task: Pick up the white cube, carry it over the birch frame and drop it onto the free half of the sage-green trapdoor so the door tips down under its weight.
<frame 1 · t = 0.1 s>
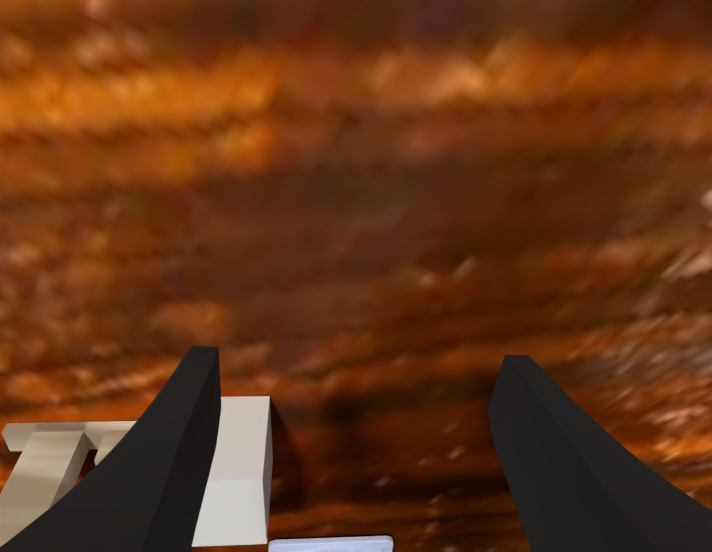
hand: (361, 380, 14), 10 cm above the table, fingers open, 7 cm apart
frame: (92, 503, 32), on the table
white cube: (224, 429, 29), on the table
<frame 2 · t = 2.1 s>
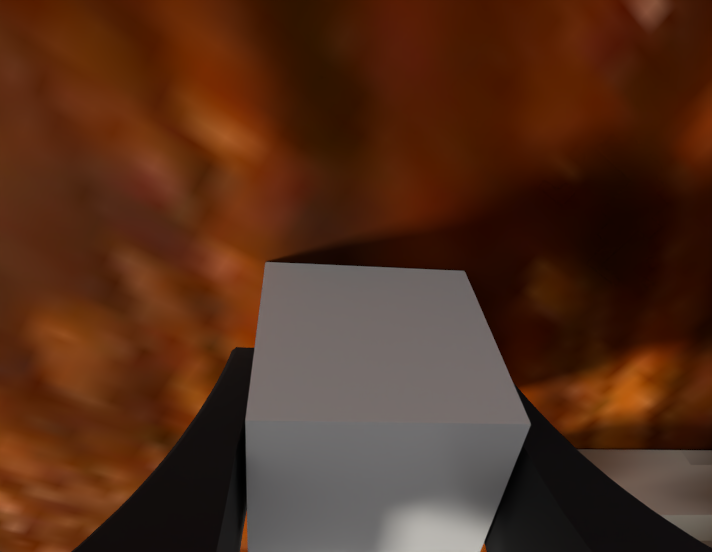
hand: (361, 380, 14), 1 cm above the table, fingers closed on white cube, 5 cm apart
frame: (498, 515, 20), on the table
white cube: (357, 343, 15), on the table, touching gripper
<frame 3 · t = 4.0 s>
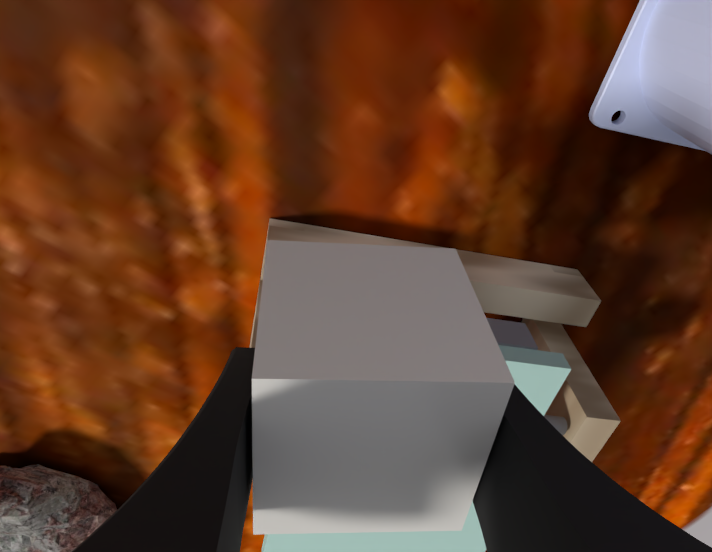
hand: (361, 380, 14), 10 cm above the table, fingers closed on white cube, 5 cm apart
mineral rock: (75, 512, 32), on the table
frame: (408, 313, 25), on the table
white cube: (354, 318, 16), point 7 cm above the table, touching gripper
trapdoor: (404, 456, 23), point 5 cm above the table, hinge at 0.0°
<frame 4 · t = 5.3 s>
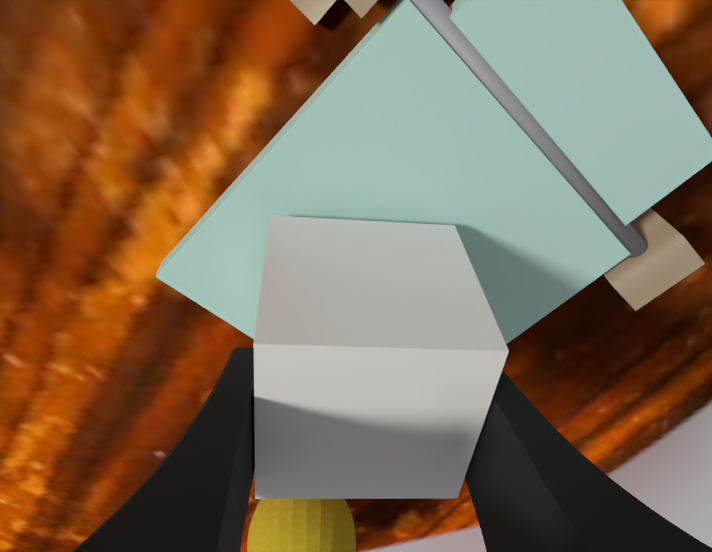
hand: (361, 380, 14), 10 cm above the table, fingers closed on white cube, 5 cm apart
frame: (479, 78, 20), on the table
lemon: (302, 472, 32), on the table
white cube: (355, 294, 16), point 7 cm above the table, touching gripper
trapdoor: (435, 208, 16), point 5 cm above the table, hinge at 0.0°
when the fingers open (10 cm above the table, at t = 5.9 s): white cube drops 4 cm, resting on trapdoor.
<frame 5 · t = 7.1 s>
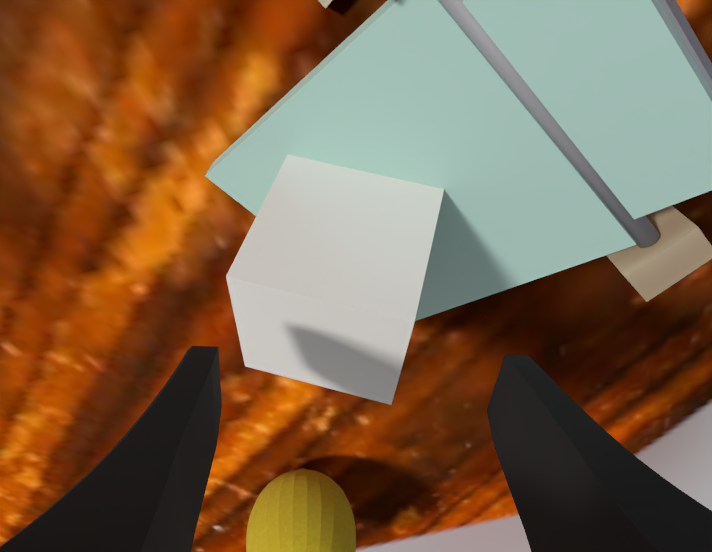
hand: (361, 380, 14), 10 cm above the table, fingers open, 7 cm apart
frame: (490, 66, 19), on the table
lemon: (302, 467, 31), on the table
white cube: (359, 225, 19), point 3 cm above the table, tilted 26°, touching trapdoor
trapdoor: (453, 161, 17), point 4 cm above the table, hinge at -25.9°, touching white cube
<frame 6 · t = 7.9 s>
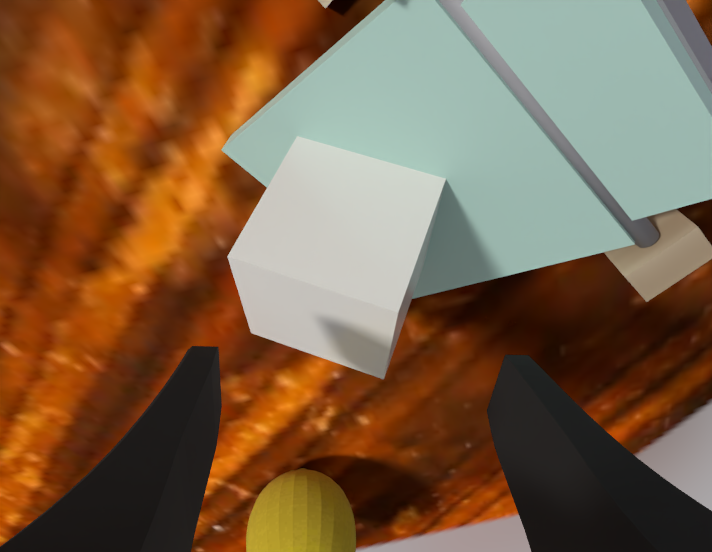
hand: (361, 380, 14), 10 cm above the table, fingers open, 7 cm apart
frame: (490, 66, 19), on the table
lemon: (302, 467, 31), on the table
white cube: (366, 206, 19), point 2 cm above the table, tilted 34°, touching trapdoor
trapdoor: (458, 150, 17), point 4 cm above the table, hinge at -33.8°, touching white cube
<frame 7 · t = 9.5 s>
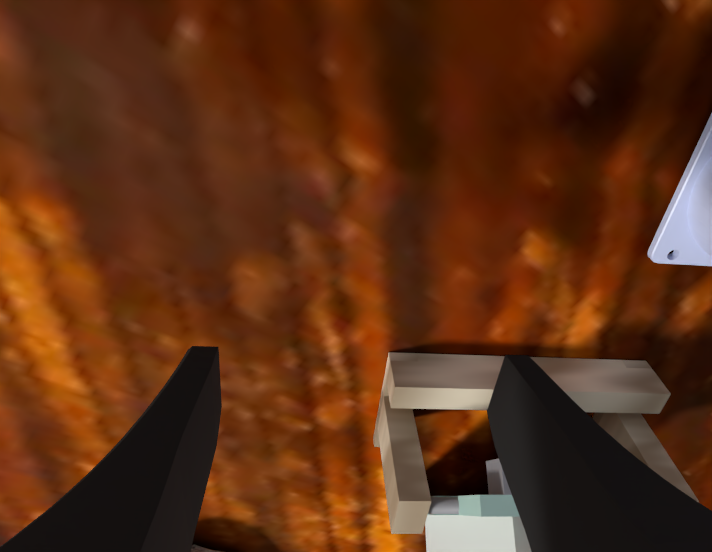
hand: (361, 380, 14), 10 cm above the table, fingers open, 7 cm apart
frame: (502, 407, 30), on the table
white cube: (483, 512, 31), point 2 cm above the table, tilted 34°, touching trapdoor
trapdoor: (510, 490, 28), point 3 cm above the table, hinge at -33.8°, touching white cube
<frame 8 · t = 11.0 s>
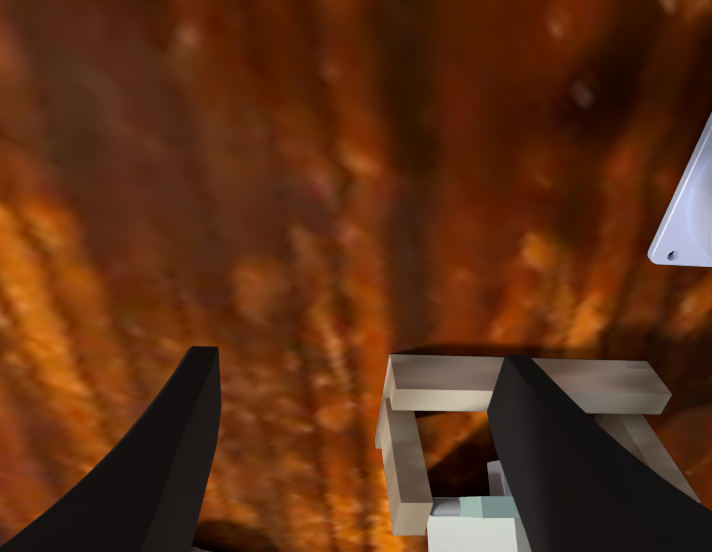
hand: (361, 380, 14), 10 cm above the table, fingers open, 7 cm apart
frame: (504, 408, 30), on the table
white cube: (484, 513, 32), point 2 cm above the table, tilted 34°, touching trapdoor
trapdoor: (512, 491, 28), point 3 cm above the table, hinge at -33.8°, touching white cube
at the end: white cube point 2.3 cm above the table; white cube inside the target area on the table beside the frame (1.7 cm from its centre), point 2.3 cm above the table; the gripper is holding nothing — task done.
